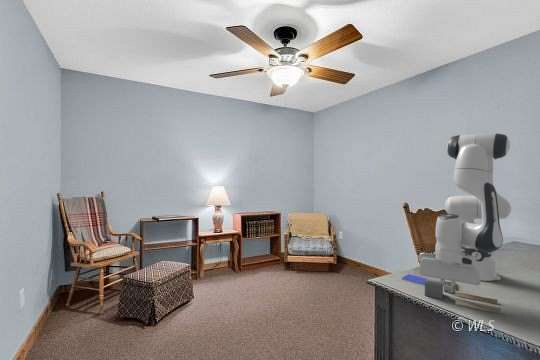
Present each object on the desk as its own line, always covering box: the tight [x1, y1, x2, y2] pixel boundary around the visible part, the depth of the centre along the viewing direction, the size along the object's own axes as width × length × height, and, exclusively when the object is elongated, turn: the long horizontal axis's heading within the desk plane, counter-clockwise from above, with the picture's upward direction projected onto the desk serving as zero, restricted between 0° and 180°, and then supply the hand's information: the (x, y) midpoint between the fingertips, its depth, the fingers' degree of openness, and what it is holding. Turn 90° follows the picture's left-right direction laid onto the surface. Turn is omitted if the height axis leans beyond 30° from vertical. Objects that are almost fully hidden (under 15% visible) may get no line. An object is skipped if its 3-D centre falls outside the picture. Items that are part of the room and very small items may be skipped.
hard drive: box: [401, 273, 427, 287], centre depth 127 cm, size 2×8×12 cm
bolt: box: [446, 280, 454, 294], centre depth 120 cm, size 14×2×3 cm, turn 146°
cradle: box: [444, 280, 502, 314], centre depth 106 cm, size 14×17×4 cm
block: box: [424, 278, 444, 300], centre depth 112 cm, size 6×6×5 cm
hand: (447, 290), depth 109 cm, fingers closed
